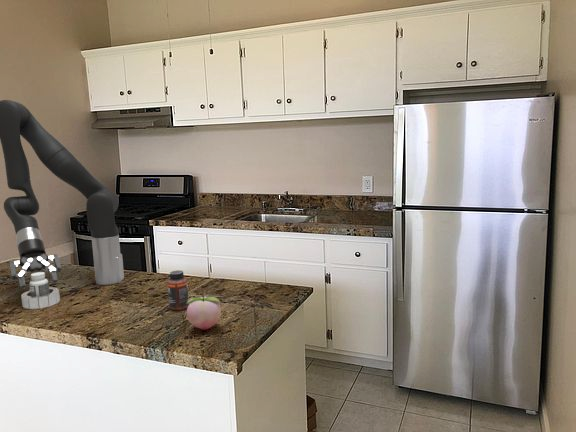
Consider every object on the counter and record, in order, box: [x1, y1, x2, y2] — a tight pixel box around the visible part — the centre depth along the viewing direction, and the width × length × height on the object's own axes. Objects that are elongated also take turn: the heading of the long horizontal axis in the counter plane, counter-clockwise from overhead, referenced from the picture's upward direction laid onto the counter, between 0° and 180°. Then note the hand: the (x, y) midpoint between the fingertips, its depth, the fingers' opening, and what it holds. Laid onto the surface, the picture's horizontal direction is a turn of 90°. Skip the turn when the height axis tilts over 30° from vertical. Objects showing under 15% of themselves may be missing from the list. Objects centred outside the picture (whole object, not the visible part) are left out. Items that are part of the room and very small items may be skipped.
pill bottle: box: [28, 271, 50, 297], centre depth 148 cm, size 5×5×10 cm
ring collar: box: [20, 286, 61, 310], centre depth 148 cm, size 10×10×4 cm
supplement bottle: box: [167, 270, 190, 311], centre depth 141 cm, size 6×6×11 cm
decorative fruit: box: [186, 293, 222, 330], centre depth 124 cm, size 9×8×10 cm
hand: (40, 285), depth 147 cm, fingers open, 8 cm apart
